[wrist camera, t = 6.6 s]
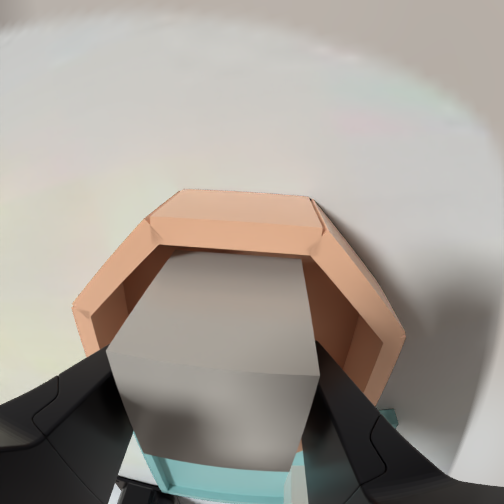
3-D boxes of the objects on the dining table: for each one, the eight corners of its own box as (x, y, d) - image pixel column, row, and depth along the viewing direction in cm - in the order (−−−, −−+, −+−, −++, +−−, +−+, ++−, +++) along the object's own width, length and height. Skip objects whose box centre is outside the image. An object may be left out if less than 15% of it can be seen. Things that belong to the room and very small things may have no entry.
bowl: (338, 408, 16) (346, 458, 12) (138, 389, 16) (118, 434, 13) (396, 206, 11) (437, 239, 8) (103, 187, 11) (52, 213, 8)
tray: (337, 494, 21) (338, 504, 20) (164, 481, 22) (161, 492, 21) (393, 409, 16) (398, 423, 15) (129, 391, 16) (122, 405, 15)
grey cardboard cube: (331, 484, 19) (335, 534, 15) (283, 485, 20) (282, 536, 15) (345, 463, 18) (352, 521, 13) (291, 465, 18) (291, 525, 13)
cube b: (301, 259, 10) (319, 375, 5) (287, 355, 11) (289, 472, 7) (175, 249, 10) (105, 351, 5) (182, 345, 11) (143, 453, 7)
